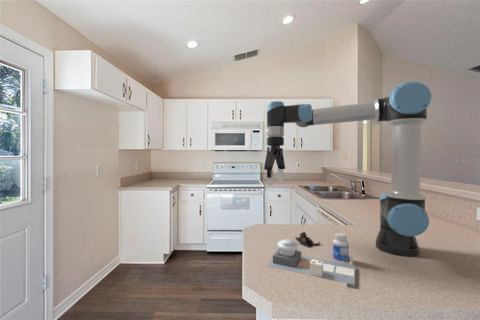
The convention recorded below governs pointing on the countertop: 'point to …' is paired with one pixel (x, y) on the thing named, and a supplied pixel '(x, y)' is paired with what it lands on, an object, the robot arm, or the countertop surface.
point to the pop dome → (287, 247)
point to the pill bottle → (340, 247)
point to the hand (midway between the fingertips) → (275, 184)
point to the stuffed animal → (306, 240)
